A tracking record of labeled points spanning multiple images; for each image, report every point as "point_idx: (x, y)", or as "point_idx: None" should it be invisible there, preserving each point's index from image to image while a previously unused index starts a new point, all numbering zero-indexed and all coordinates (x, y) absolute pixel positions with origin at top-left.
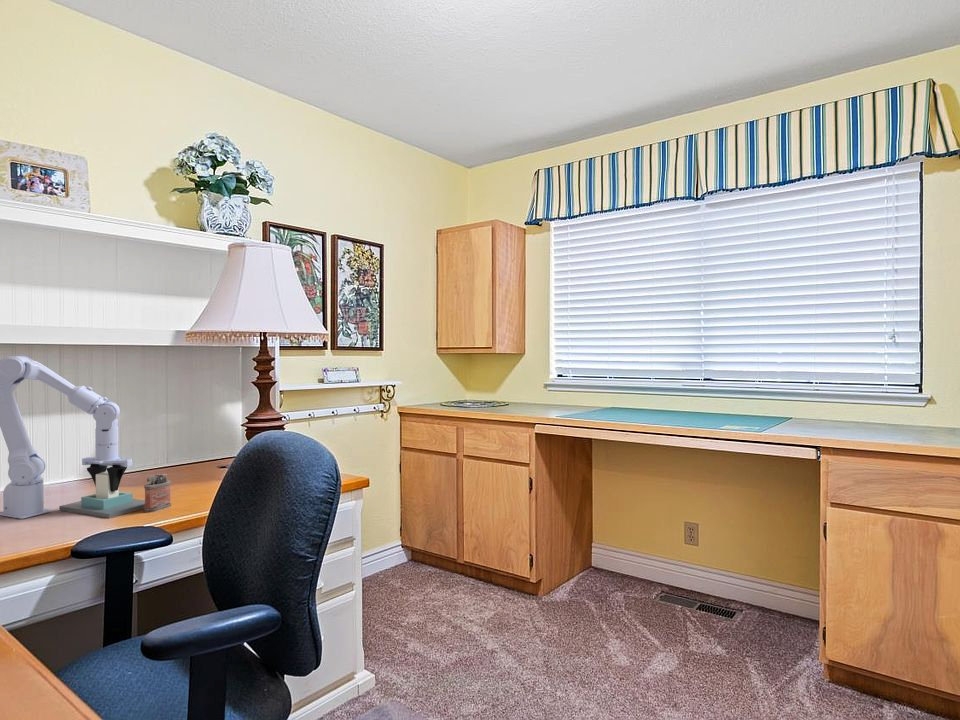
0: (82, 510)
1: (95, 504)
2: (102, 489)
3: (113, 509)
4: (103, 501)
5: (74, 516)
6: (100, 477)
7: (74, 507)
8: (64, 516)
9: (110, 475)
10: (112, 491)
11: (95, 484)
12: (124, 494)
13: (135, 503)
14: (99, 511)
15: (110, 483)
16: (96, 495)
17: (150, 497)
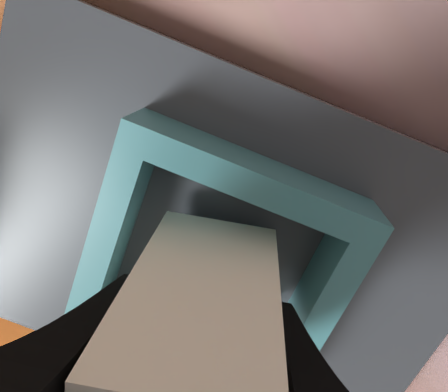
0: (302, 94)
1: (224, 146)
2: (202, 271)
3: (69, 105)
4: (126, 118)
5: (323, 22)
6: (208, 368)
7: (404, 157)
8: (403, 19)
9: (32, 367)
10: (125, 274)
11: (299, 334)
12: None
13: (34, 260)
14: (135, 44)
15: (104, 311)
16: (269, 252)
17: None
